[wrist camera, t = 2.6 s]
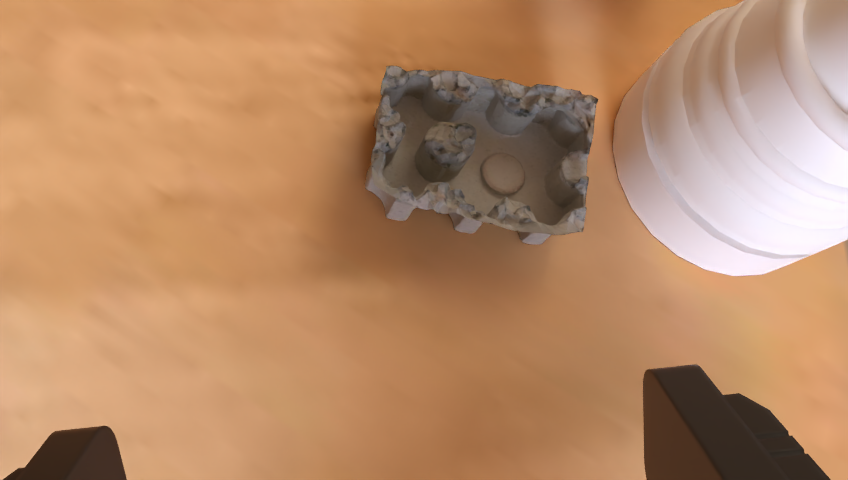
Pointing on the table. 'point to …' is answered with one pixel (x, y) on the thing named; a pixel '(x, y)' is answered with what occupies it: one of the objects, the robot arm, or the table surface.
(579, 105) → the egg carton
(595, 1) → the table surface
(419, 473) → the table surface
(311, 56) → the table surface
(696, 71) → the honey pot
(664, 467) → the robot arm
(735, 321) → the table surface
